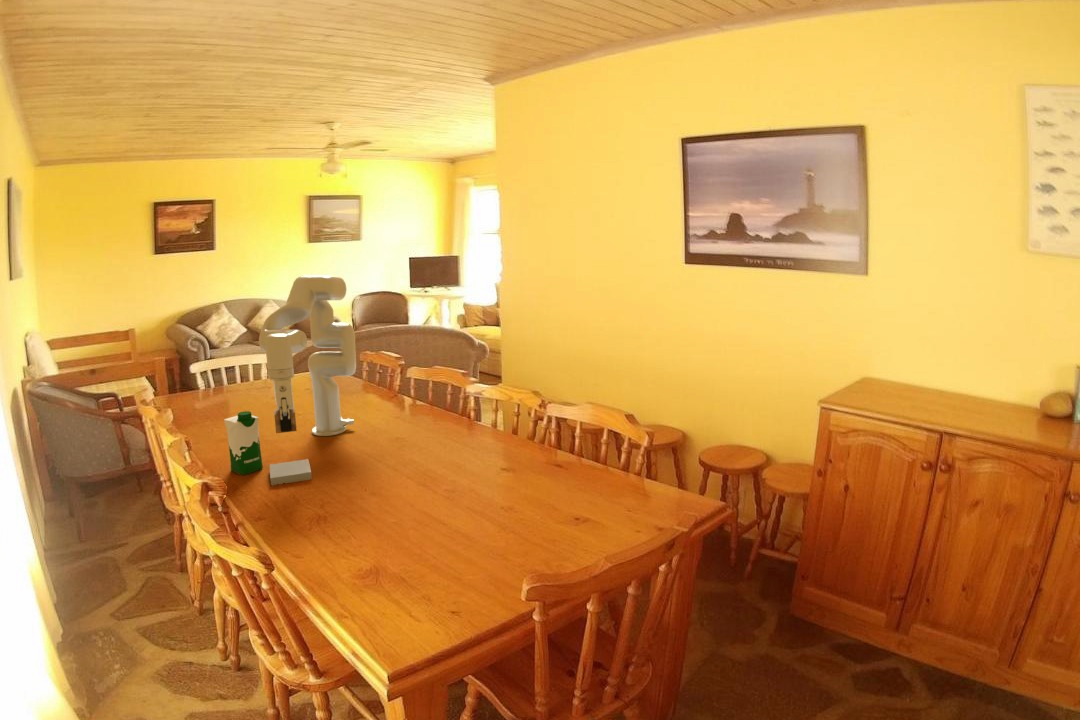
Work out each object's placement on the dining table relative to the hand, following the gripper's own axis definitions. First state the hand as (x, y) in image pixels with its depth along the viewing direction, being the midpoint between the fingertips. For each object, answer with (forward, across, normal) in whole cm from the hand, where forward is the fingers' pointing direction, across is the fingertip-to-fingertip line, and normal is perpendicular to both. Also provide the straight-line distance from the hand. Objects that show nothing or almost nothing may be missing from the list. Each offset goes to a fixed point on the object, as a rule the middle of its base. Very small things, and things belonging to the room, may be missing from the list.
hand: (286, 427), depth 202 cm
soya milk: (+16, +11, +13) cm, 23 cm away
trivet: (+16, 0, 0) cm, 16 cm away
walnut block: (+1, 0, 0) cm, 1 cm away
